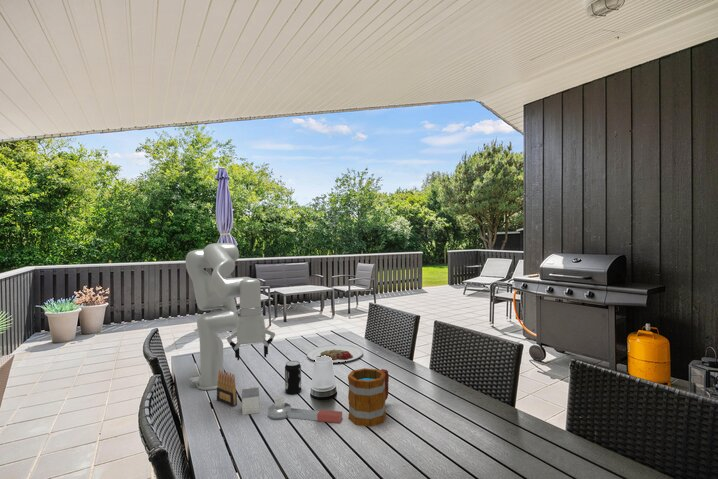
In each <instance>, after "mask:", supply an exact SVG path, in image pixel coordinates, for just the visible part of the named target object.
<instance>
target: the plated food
mask: <svg viewBox="0 0 718 479" xmlns="http://www.w3.org/2000/svg"><path fill="white" fill-rule="evenodd" d="M363 354H364V351H363V349H362V348H360V347H359V346H358V347H357V346H354V345H351V344H350V345H349V344H348V345H347V344H328V345H322V346H317V347H314V348H312V349H310V350H308V351H307V353H306V355H307V358H309V359H310V360H312V361H314V360H315V359H316V358H317V357H321V356H324V355H326V356H329V357H331V358H332V360H333V363H332V364H337V363H338V362H340V363H345V361H346V362H350V361H353V360H354V361H355V360H356V359H359V358H361V357H362V356H363ZM338 364H339V363H338Z"/></svg>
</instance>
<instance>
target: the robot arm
mask: <svg viewBox="0 0 718 479" xmlns="http://www.w3.org/2000/svg"><path fill="white" fill-rule="evenodd" d="M239 256H240V252H239V249H238V247H237V245H236V244H234V243H232V242H218V243H217V242H216V243H214V242H213V243H209V244H207V245H206V246H205V247H204V248H203V249H202V248H201V249H193V250H191V251H189V252H188V253H187V254H186V256H185V268H186V272H187V273H188V275H189V278H190V279H191V281H192V286H193V291H194V297H195V300H196V301H195V302H196V305H197V308H198V309H199V310H200V311H205V312H206V311H210V312H206V313H203V314H201V315H200V316H199V317H198V318H197V321H196V328H197V332H198V338H199V362H200V363H199V364H200V366H199V368H200V374H199V375H197V376H191V377H189V382H190V383H192V384H194V383H196V388H197V389H199V390H201V391H202V390H203V391H211V390H217V387H218V372H219V370H220V371H221V372H222V371H223V373H224V372H225V371H224V370H225V368H224V367H225V366H224V365H225V364H224V342H223V340H222V339H221V338H220V337H219V336H218V334H219V335H220V334H221V333H228V332H231V331H234V330H236V331H235V332H234V333H232V334H230V335H228V336H227V337H226V340H227V342H228V344H229V345H230V347H232V348H233V350H234V357H235V359H236V360H237V361H240V346H241V345H244V346H245V345H253V344H259V343H260V344H263V356H264V358H267V355H269V345H270V344H271V343H272V342H273V340H274V338H275V337H276V333H275V332H274V331H271V330H268V329H266V323H265V317H264V314H263V313H262V304H261V302H262V299H261V298H262V296H261V281H260V279H258V278H252V277H249V276H242V277H241V276H239V277H238V276H237V277H230V278H229V277H228V276H229V275H230V274H232V273H233V272H234V270H235V268H236V261H237V260H238V259H239ZM210 268H211V269H212V272H211V274H210V273H209V272H208V271H207V270H205V269H210ZM227 277H228V278H227ZM235 298H239V309H237V304H236V301H235ZM218 309H219V310H218ZM212 310H217V311H212ZM266 334H267V335H268V336H269V338H268V339H266V337H267V336H266ZM235 338H236V341H237V342H236V343H235V342H234V341H233V339H235Z"/></svg>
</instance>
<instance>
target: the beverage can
mask: <svg viewBox="0 0 718 479" xmlns="http://www.w3.org/2000/svg"><path fill="white" fill-rule="evenodd" d="M300 363H301V362H300V361H299V360H288V361H286V363H285V366H284V390H285V392H286V393H287V395H296V394H299V393H300V392H301V391H302V365H301V364H300Z"/></svg>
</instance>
